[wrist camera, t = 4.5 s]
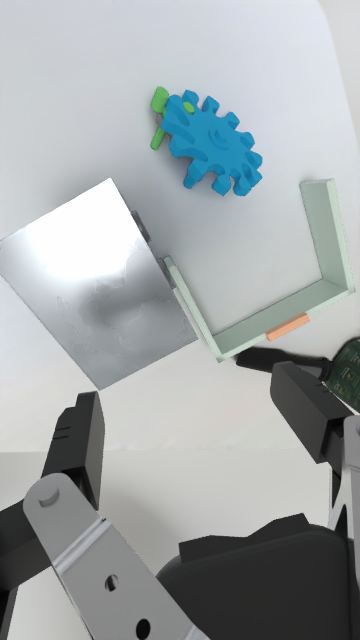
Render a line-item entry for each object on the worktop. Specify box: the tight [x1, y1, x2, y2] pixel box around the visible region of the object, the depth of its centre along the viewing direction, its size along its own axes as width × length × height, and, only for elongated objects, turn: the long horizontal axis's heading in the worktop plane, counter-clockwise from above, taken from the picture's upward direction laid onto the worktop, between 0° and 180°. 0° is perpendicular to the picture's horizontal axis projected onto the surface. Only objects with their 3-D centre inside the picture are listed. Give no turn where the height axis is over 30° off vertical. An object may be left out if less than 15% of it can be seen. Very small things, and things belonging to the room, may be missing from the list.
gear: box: [151, 87, 262, 196], centre depth 25 cm, size 11×6×10 cm
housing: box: [0, 178, 198, 391], centre depth 23 cm, size 11×8×15 cm
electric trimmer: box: [236, 349, 333, 382], centre depth 38 cm, size 4×16×3 cm, turn 74°
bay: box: [163, 179, 356, 363], centre depth 30 cm, size 13×18×5 cm
